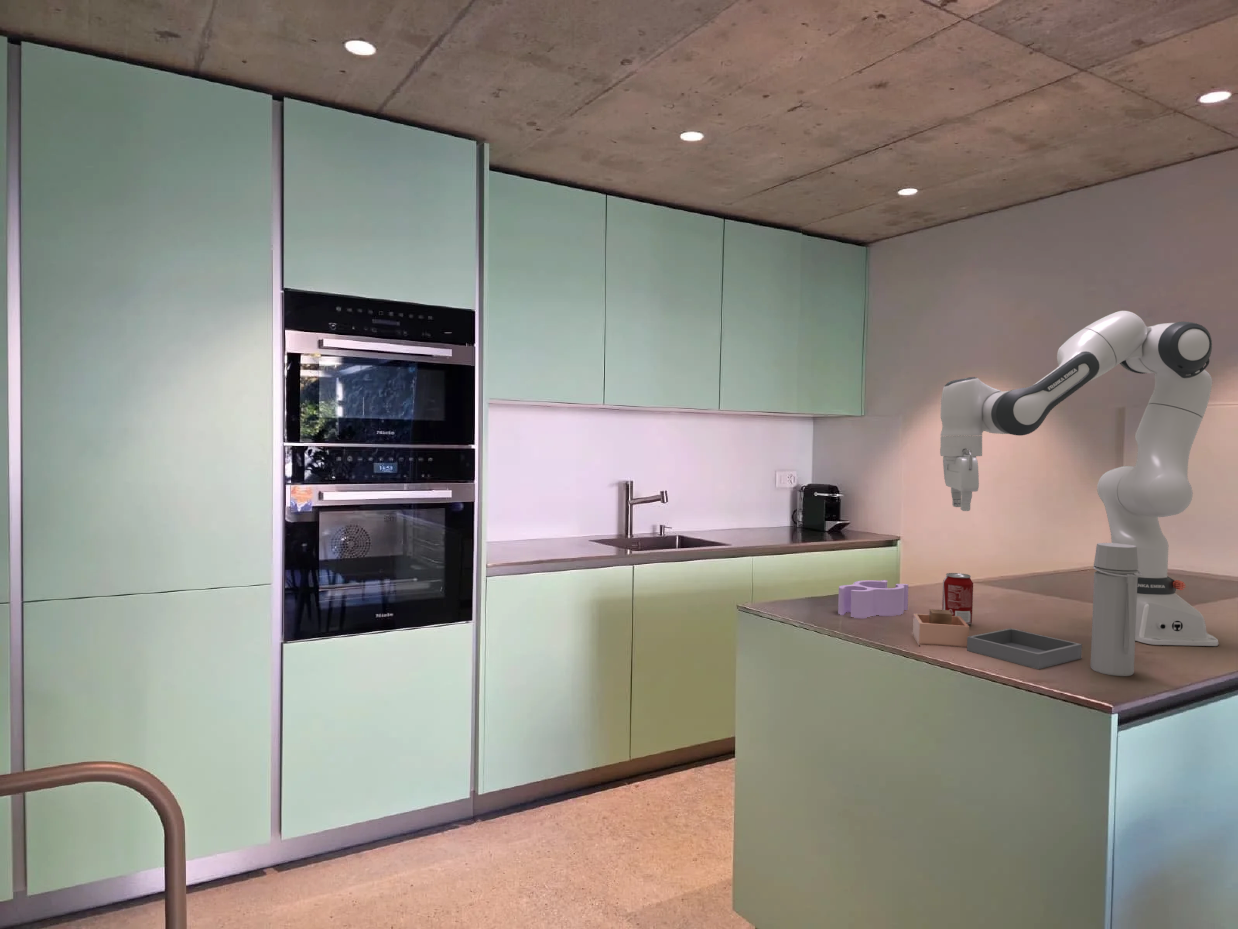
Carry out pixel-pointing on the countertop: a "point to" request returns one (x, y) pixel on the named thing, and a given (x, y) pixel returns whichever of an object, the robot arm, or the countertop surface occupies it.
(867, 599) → the clip
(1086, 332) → the robot arm
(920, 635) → the peach open box
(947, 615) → the block
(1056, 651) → the tray
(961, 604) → the soda can
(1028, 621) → the countertop surface
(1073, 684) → the countertop surface
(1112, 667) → the water bottle
